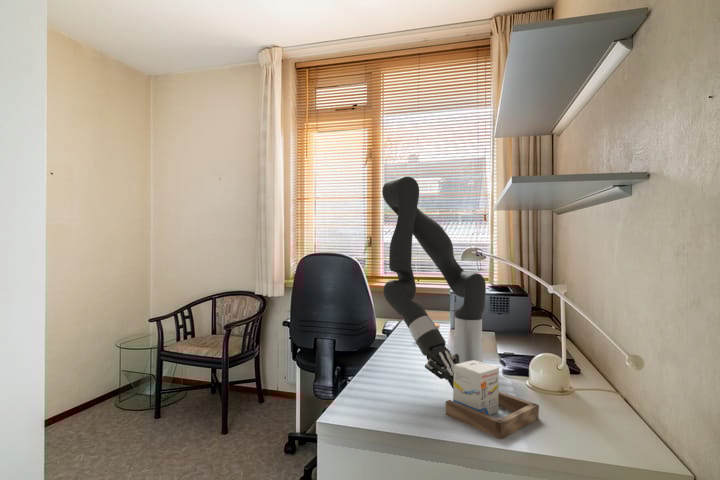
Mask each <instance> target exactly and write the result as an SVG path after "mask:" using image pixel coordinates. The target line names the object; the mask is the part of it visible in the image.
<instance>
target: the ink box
mask: <svg viewBox="0 0 720 480" xmlns="http://www.w3.org/2000/svg"><path fill="white" fill-rule="evenodd" d="M499 373H500V367H499V366H495V365H492V364H490V363H487V362H480V361H475V360H472V361H467V362H463V363H459V364H454V383H453V388H452V395H453V396H452V401H454V402H456V403H459V404H461V405H464V406H466V407H469V408H471V409H474V410H477V411H479V412H482V413H484V414H487V415H489V416H491V415H493V414H495V413H498V412H499V407H498V393H499V392H500V390H499V389H500V388H499V387H500V386H499V384H500V382H499V378H500V375H499Z"/></svg>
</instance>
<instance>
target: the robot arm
mask: <svg viewBox="0 0 720 480" xmlns="http://www.w3.org/2000/svg"><path fill="white" fill-rule="evenodd" d="M381 191H382V198H383V199H384V202H385V203H386V205H388V207H389V208H390V209H391V210H392V211H393V213H394V214H396V216H397V221H396V224H395V228H394V231H393V234H392V235H391V240H390V243H389V253H388V255H389V256H388V257H389V258H388V259H389V261H388V266H389V270H390V271H391V272H393V273H396V274H397V278H398V279H393V280H389V281H387V282H386V283H385V284H384V287H383V296H384V299H385V301H386V302H387V303H388V304H389V305H390V307H391V308H392V309H393V310H394V311H395V312H396V313H397V314H398V315H400V316H401V318H402V319H403V321H404V323H405V324H406V327H407V328H408V330H409V332H410V334H411V337H412V338H413V340H414V341H415V343H416V346H417V347H418V348H419V350H420V352H421V354H422V355H423V356H425V357H426V360H427V362H426V364H424V368H425V369H426V370H428V371H429V372H430V373H432V374H433V375H435V376H436V377H437V378H438V379H441V380H443V379H444V380H446V381H448V384H449V385H450V386H451V388H452V389H453V383H454V364H459V363H463V362H467V361H472V360H475V361H480V362H483V354H484V353H483V352H484V351H483V349H484V340H483V339H482V338H483V337H482V336H483V314H484V311H485V307H486V294H487V293H486V292H487V291H486V290H487V287H486V286H487V285H486V280H485V278H484V276H483V275H482V274H481V273H478V272H472V271H465V270H464V269H463V268H462V267H461V265H460V264H459V263H458V262H457V260H456V258H455V255H454V247H453V246H454V245H453V243H452V242H453V241H452V240H451V238H450V236H449V235H448V234H447V232H446V230H445V229H444V228H443V227H442V226H441V225H440V223H438V222H437V221H436V220H434V219H433V218H432V217H430V216H429V215H427V214H426V213H424V212H423V211H422V210H420V208H419V207H418V205H419V199H420V187H419V183H418V181H417V180H416V179H415V178H414V177H412V176H410V175H409V176H408V175H406V176H400V177H396V178H392V179H390V180H388V181H386V182H385V183H384V184H383V187H382V190H381ZM413 236H414V238H415V239H416V240H417V242H418V243H419V245H420V246H421V248H422V249H423V250H424V252H425V253H426V254H427V255H428V257H429V258H430V259H431V260H432V263H434V265H435V266H436V268H438V270H439V271H440V273H441V275H442V276H443V278H444V280H445V281H446V283H447V285H448V287H449V288H450V289H451V291H452V292H453V294H454V295H455V296H457V297H459V298H463V304H462V306H461V307H460V306H459V307H456V308H455V309H454V347H453V348H454V349H453V350H454V352H453V353H454V354H453V353H452V352H451V351H450V350H449V349H448V348H447V347H446V339H445V338H444V337H443V335H442V334H441V332H440V329H439V330H438V329H437V327H436V326H435V324H434V323H435V322H434V321H433V320H432V319H431V317H430V315H428V313H427V311H426V310H425V308H424V306H423V305H422V304H421V303H420V302H418V301H415V300H414V298H415V295H416V291H417V285H416V281H415V276H414V272H413V269H412V260H413V259H412V257H413V256H412V255H413V254H412V253H413V250H412V249H413ZM483 363H484V362H483Z"/></svg>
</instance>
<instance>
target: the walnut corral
mask: <svg viewBox="0 0 720 480" xmlns="http://www.w3.org/2000/svg"><path fill="white" fill-rule="evenodd" d="M498 408H501V409H504V410H506V411H509V412H511V413H509V414H507V415H505V416H503V417H501V418H496V417H494V416H491V415H487V414H484V413H482V412H479V411H477V410H474V409H471V408H469V407H466V406H464V405H461V404H459V403H456V402H454V401H453V400H451V399H448V400H446V401H445V416H447V417H449V418H452V419H454V420H456V421H458V422H461V423H463V424H465V425H467V426H470V427H472V428H474V429H476V430H479V431H480V432H483V433H485V434H488V435H491V436H492V437H495V438H497V439H500V440H502V439H505V438H506V437H508V436H510V435H512V434H513V433H516V432H517V431H519V430H521V429H523V428H524V427H527V426H528V425H530V424H532V423H534V422H536V421H537V420H539V417H540V405H539V404H538V403H535V402H531V401H528V400H525V399H523V398H519V397H518V396H517V397H516V396H513V395H511V394H507V393H506V392H505V393H504V392H502V391H499V393H498Z"/></svg>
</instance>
